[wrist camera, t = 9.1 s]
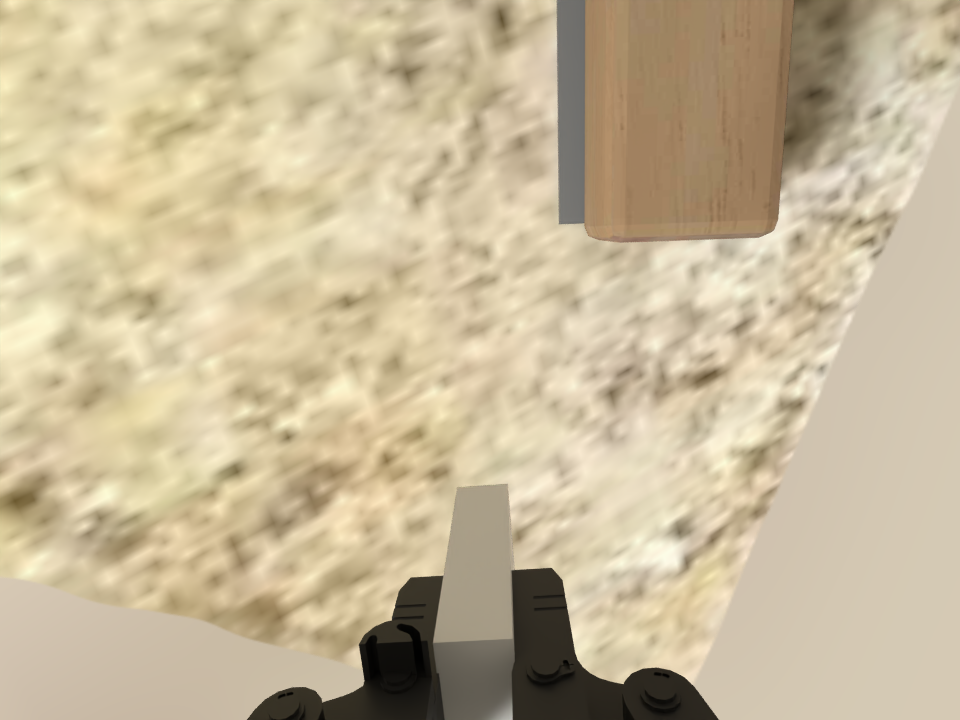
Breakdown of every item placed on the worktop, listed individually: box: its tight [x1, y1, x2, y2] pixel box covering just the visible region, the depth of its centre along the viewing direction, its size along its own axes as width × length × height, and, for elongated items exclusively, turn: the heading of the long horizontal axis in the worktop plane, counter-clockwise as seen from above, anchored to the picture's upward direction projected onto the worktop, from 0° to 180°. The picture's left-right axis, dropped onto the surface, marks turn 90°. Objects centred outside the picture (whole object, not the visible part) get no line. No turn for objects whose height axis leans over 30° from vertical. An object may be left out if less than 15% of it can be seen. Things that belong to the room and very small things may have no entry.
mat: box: [557, 0, 585, 224], centre depth 41 cm, size 21×14×1 cm, turn 2°
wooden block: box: [585, 0, 794, 242], centre depth 36 cm, size 10×10×20 cm
